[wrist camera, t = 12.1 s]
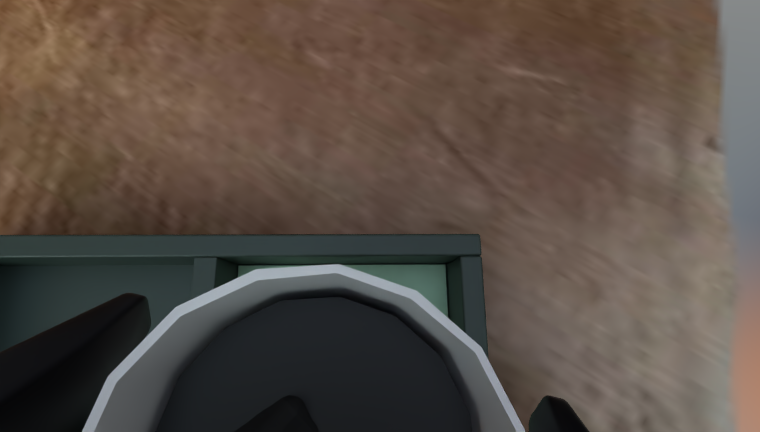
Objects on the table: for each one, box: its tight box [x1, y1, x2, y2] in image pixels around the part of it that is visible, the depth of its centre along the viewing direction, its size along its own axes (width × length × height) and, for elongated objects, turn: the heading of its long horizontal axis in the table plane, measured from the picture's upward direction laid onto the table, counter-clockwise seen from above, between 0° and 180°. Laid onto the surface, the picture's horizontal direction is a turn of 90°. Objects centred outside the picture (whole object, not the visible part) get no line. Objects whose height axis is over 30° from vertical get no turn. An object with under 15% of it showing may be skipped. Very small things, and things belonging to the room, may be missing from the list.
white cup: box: [82, 264, 525, 432], centre depth 10 cm, size 7×7×10 cm
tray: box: [0, 234, 489, 361], centre depth 14 cm, size 10×19×3 cm, turn 91°
